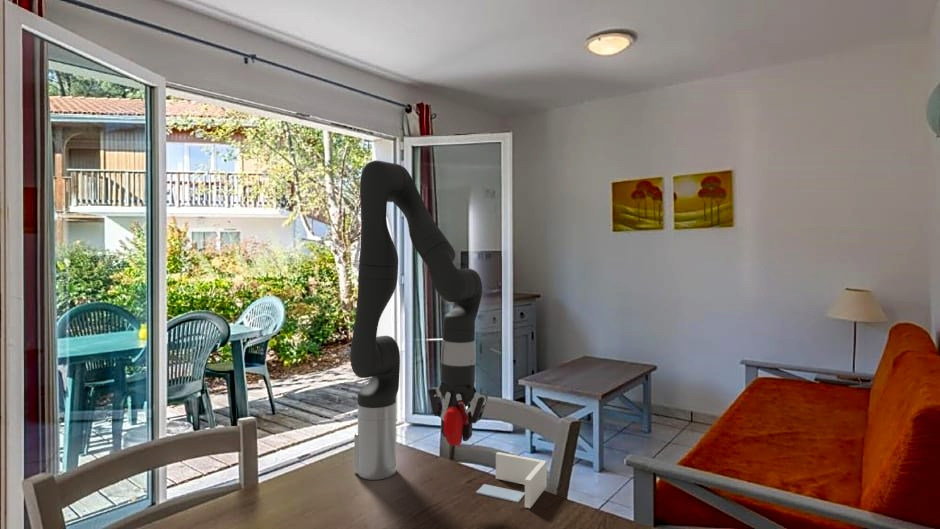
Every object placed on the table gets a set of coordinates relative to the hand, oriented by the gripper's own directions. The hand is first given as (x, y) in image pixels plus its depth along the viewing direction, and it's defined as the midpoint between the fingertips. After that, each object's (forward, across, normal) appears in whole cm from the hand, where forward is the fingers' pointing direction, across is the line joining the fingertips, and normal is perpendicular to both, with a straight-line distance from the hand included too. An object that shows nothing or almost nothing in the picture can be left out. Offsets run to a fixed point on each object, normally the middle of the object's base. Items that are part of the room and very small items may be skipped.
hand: (456, 437), depth 114 cm
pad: (+13, +8, +6) cm, 17 cm away
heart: (+2, 0, 0) cm, 2 cm away
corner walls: (+13, +10, +8) cm, 19 cm away
